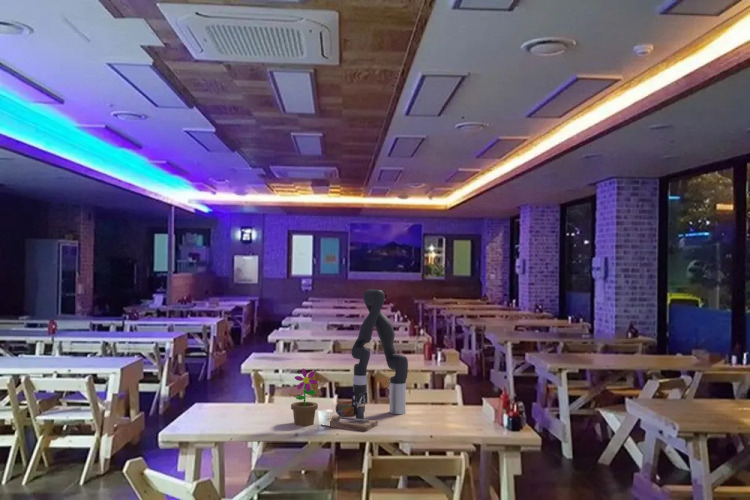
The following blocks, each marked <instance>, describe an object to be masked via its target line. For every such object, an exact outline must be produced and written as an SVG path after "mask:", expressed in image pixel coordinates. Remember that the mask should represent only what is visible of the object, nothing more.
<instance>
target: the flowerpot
mask: <svg viewBox="0 0 750 500" xmlns="http://www.w3.org/2000/svg"><path fill="white" fill-rule="evenodd" d="M315 374H316V371H315V370H312V371H310V373H308V374H307V370H306V368H302V370H301V375H302V376H300V375H296V376H294V379H295V380H296V381H299V384H298V385H297V386H296V387H297V390H301V389H302V388H303V395H298V396H296V397H295V400H301V401H296V402H293V403H291V404H290V409H291V410H292V411H293V414H292V415H293V422H294V425H295V426H297V425H298V426H297V427H311V426H314V424H315V417H316V415H315V414H316V410H318V409H319V407H318V406H319V404H318V403H317V402H314V401H306V398H307V397H306V395H308V396H312V395H315V394H316V393H317V391H315V390H314V389H311V385H318V383H319V382H318V381H317V380H316V379H312V378H313V377H314V376H315ZM310 384H311V385H310ZM302 400H303V401H302Z"/></svg>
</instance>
